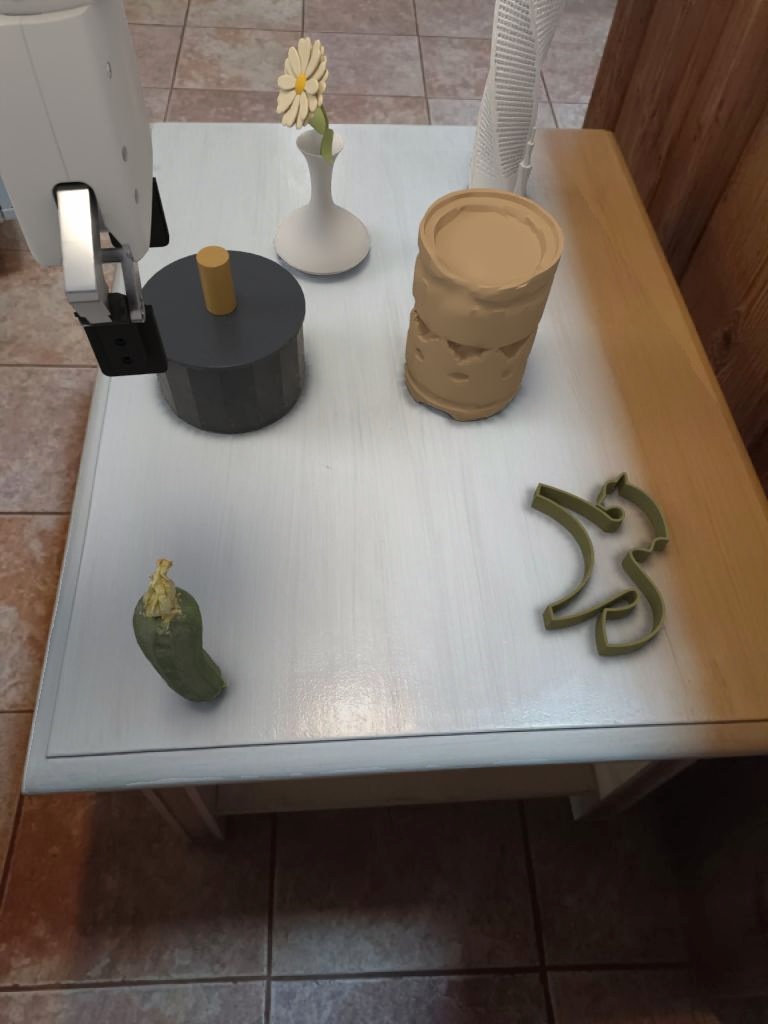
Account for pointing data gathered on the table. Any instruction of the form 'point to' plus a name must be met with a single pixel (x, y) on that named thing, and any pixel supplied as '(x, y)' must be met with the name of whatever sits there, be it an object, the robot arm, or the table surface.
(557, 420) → the table surface
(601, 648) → the cookie cutter
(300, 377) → the pot
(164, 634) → the vegetable
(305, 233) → the flower in vase
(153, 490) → the table surface
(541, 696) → the table surface
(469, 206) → the container
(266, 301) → the lid
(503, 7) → the skyscraper
